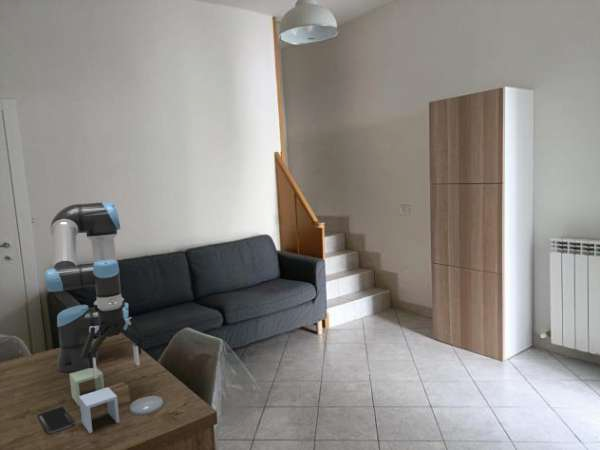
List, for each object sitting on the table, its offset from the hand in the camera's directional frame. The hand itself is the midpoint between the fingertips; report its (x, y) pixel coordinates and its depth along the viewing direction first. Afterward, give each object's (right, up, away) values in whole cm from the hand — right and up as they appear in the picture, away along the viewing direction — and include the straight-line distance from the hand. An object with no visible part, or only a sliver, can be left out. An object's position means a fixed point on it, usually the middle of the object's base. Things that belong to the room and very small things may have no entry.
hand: (116, 370), depth 153 cm
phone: (-15, -13, -10) cm, 22 cm away
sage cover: (-12, -11, +6) cm, 17 cm away
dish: (+11, -10, -4) cm, 16 cm away
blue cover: (0, -12, -12) cm, 17 cm away
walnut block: (0, -11, +1) cm, 11 cm away
